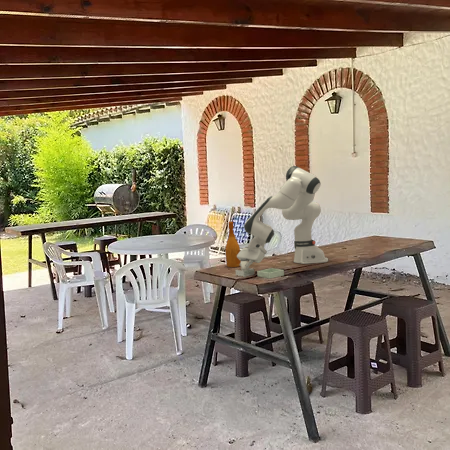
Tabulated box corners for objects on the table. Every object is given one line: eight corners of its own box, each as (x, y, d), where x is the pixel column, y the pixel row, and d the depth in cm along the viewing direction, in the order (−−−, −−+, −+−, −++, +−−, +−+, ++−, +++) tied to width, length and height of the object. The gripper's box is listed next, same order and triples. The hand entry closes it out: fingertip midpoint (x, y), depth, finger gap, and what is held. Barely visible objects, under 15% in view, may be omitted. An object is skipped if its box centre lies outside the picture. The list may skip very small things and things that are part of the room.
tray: (271, 273, 308) (271, 267, 307) (284, 275, 299) (283, 269, 298) (257, 276, 301) (257, 271, 301) (269, 278, 292) (269, 273, 292)
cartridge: (248, 274, 309) (247, 257, 308) (247, 275, 306) (246, 259, 305) (242, 274, 310) (241, 258, 309) (241, 275, 306) (240, 259, 305)
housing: (246, 272, 313) (245, 267, 313) (254, 274, 307) (254, 268, 307) (235, 275, 309) (235, 269, 308) (244, 276, 302) (243, 271, 302)
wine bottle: (237, 268, 332) (233, 222, 329) (223, 267, 337) (220, 222, 334) (243, 265, 340) (240, 220, 337) (230, 264, 345) (227, 220, 342)
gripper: (241, 243, 319) (230, 261, 314) (262, 245, 302) (251, 264, 297) (247, 249, 322) (236, 267, 317) (268, 252, 305) (257, 271, 300)
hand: (243, 266), depth 307 cm, fingers closed on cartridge, 4 cm apart
